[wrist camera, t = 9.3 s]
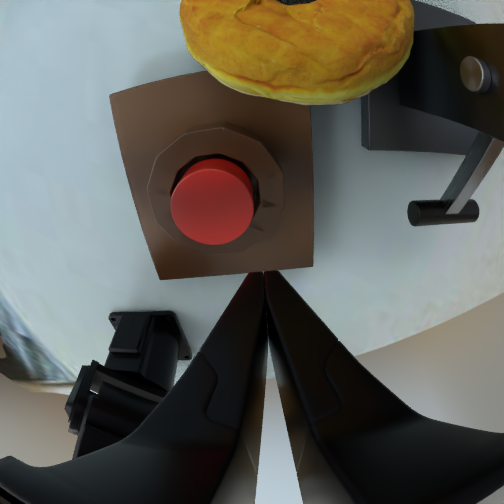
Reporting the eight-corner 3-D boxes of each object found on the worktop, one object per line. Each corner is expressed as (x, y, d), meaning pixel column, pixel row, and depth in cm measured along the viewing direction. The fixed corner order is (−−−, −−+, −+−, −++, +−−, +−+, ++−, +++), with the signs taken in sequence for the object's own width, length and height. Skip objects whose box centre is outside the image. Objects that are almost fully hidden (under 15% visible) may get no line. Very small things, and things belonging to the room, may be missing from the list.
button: (256, 223, 14) (257, 241, 13) (187, 230, 15) (180, 249, 13) (248, 153, 12) (248, 164, 11) (172, 164, 13) (161, 176, 11)
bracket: (467, 151, 15) (565, 215, 7) (360, 145, 15) (459, 222, 7) (465, 22, 10) (574, 29, 1) (349, -8, 10) (445, -66, 2)
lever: (460, 201, 15) (474, 232, 14) (401, 203, 15) (414, 238, 14) (534, 66, 5) (566, 98, 4) (469, 32, 5) (510, 64, 4)
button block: (307, 248, 20) (319, 285, 16) (166, 261, 20) (152, 299, 17) (299, 64, 13) (314, 58, 10) (124, 92, 13) (91, 98, 10)
